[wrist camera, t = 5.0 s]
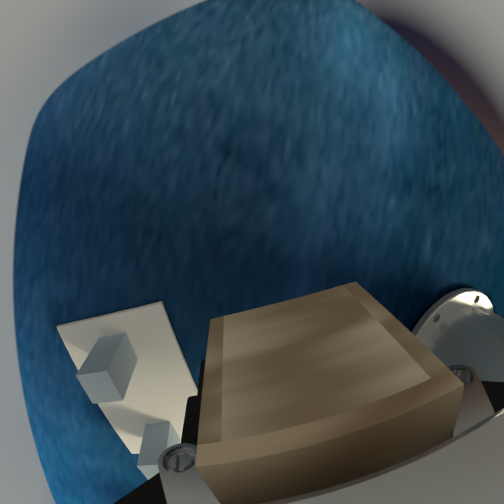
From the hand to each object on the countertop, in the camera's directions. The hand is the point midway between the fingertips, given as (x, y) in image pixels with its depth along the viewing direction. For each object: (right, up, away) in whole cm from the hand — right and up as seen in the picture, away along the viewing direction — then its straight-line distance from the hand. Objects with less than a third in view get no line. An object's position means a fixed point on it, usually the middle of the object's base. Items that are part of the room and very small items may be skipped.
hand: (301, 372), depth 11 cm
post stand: (-12, -8, +14) cm, 20 cm away
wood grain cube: (0, 0, +1) cm, 1 cm away
